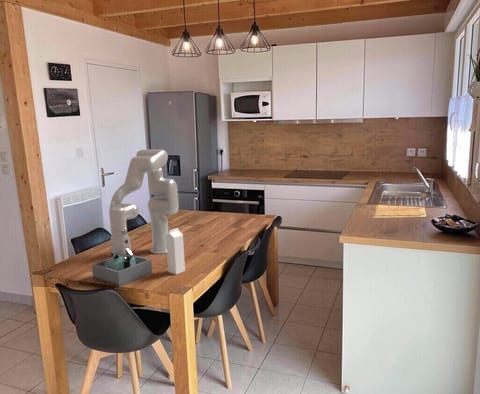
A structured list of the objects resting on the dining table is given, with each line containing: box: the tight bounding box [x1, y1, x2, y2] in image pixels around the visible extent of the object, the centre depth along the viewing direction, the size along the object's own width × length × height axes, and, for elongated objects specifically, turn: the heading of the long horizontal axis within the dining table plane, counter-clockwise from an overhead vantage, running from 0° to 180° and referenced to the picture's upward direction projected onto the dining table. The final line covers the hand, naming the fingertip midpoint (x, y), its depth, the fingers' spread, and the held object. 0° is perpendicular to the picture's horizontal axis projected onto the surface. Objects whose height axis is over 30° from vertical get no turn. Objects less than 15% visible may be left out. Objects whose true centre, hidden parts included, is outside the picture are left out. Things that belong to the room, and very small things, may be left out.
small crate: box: [108, 256, 136, 271], centre depth 206 cm, size 11×7×5 cm, turn 144°
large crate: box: [91, 254, 153, 288], centre depth 206 cm, size 20×20×7 cm
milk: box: [166, 227, 186, 275], centre depth 208 cm, size 6×6×22 cm
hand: (122, 267), depth 206 cm, fingers closed on small crate, 7 cm apart
